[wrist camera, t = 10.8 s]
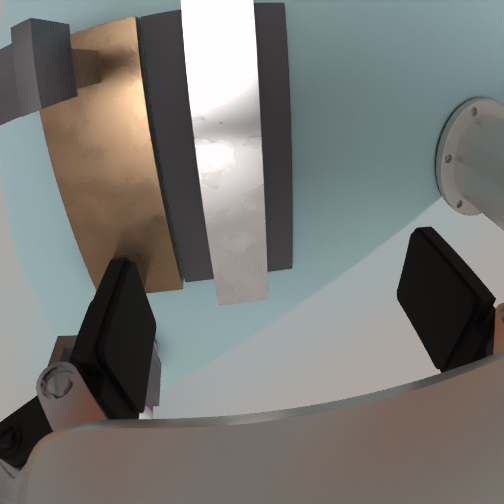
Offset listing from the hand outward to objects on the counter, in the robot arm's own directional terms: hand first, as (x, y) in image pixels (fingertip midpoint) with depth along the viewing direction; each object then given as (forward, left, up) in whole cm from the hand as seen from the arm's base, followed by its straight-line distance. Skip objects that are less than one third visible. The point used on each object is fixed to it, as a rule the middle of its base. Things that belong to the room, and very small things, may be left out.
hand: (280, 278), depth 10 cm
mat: (+1, 0, -15) cm, 15 cm away
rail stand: (+10, 0, -15) cm, 18 cm away
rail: (+1, 0, -15) cm, 14 cm away
